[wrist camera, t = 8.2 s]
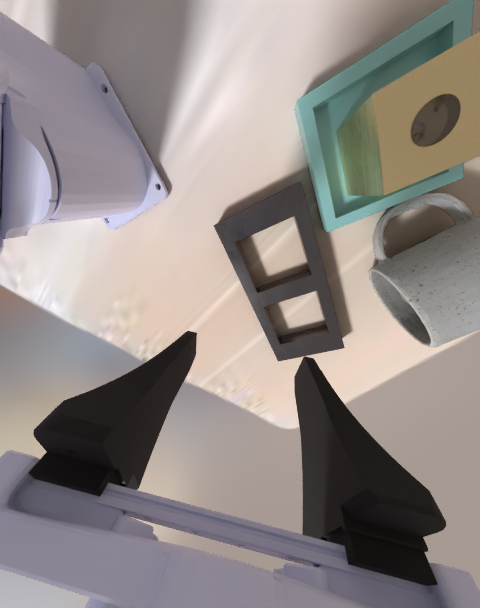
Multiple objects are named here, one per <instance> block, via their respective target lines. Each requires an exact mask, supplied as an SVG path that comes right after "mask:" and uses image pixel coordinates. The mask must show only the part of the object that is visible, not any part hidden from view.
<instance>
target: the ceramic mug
mask: <svg viewBox="0 0 480 608" xmlns="http://www.w3.org/2000/svg"><path fill="white" fill-rule="evenodd" d="M423 204H430V205H435V206H438V207H440V208H441V209H442V210H444V211H446V212H447V214H448V215H450V216H451V218H452V219H453V220H454V222H455V226H453V227H451V228H448V229H446V230H444V231H442V232H440V233H438V234H437V235H435V236H433V237H431V238H429V239H428V240H426V241H424V242H422V243H419V244H417V245H415V246H413V247H411V248H409V249H407V250H404V251H403V252H401V253H399V254H396V255H394V256H392V257H391V258H388V257H387V256H386V254H385V249H384V244H383V234H384V231H385V228H386V226H387V224H388V220H389V219H391V218H393V217H395V216H397V215H399V214H401V213H403V212H405V211H408V210H410V209H417V208H419V207H421V206H422V205H423ZM373 249H374V253H375V256H376V259H377V261H378V264H377V265H375V266H373V267H372V268H371V269H370V270H369V279H370V281H371V283H372V286H373V288H374V290H375V292H376V294H377V295H378V297H379V298H380V300H381V302H382V303H383V304H384V306H385V307H386V309H387V310H388V311H389V313H390V314H391V315H392V317H393V318H394V319H395V320H396V321H397V322H398V323H399V324H400V325H401V326H402V327H403V328H404V330H406V331H407V332H408V333H409V334H410V335H411V336H412V337H413V338H415V339H416V340H417V341H419V342H420V343H421V344H423V345H425V346H428V347H438V346H440V345H442V344H445V343H447V342H450V341H452V340H455V339H457V338H460V337H462V336H465V335H467V334H470V333H472V332H475V331H478V330H480V217H474V216H473V213H472V211H471V210H470V209H469V207H468V206H467V205H466V204H465V203H464V202H463V201H462V200H460V199H458V198H456V197H455V196H453V195H450V194H447V193H425V194H422V195H420V196H417V197H415V198H412V199H410V200H407V201H405V202H402V203H400V204H397V205H396V206H394V207H393V208H391V209H390V210H389V211H388V212H387V213H386V214H385V215H384V216H383V217H382V218H381V219H380V220H379V222H378V223H377V225H376V228H375V230H374V233H373Z"/></svg>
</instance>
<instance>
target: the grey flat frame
mask: <svg viewBox="0 0 480 608" xmlns="http://www.w3.org/2000/svg"><path fill="white" fill-rule="evenodd" d="M293 216H294V220H295V223H296V226H297V230H298V233H299V237H300V240H301V243H302V247H303V250H304V253H305V257H306V260H307V264H308V267H309V270H307V271H304V272H301V273H298V274H295V275H292V276H290V277H287V278H284V279H281V280H278V281H275V282H272V283H269V284H266V285H264V286H261V287H258V286H257V283H256V281H255V279H254V277H253V274H252V272H251V270H250V267H249V265H248V263H247V261H246V258H245V256H244V254H243V251H242V249H241V247H240V245H239V242H238V241H239V240H242V239H244V238H246V237H248V236H250V235H253V234H255V233H257V232H259V231H262V230H264V229H266V228H268V227H270V226H273V225H275V224H277V223H279V222H282V221H284V220H286V219H288V218H290V217H293ZM214 227H215V229H216V231H217V233H218V236H219V238H220V240H221V242H222V244H223V246H224V248H225V250H226V252H227V254H228V257H229V259H230V261H231V263H232V265H233V267H234V269H235V271H236V273H237V276H238V278H239V280H240V282H241V284H242V286H243V288H244V290H245V292H246V294H247V297H248V299H249V301H250V303H251V305H252V307H253V309H254V311H255V313H256V315H257V318H258V320H259V322H260V324H261V326H262V328H263V330H264V332H265V334H266V336H267V339H268V341H269V343H270V345H271V347H272V349H273V351H274V353H275V355H276V357H277V360H278V361H282V360H287V359H292V358H297V357H302V356H307V355H312V354H317V353H322V352H327V351H332V350H337V349H342V348H344V344H343V340H342V337H341V333H340V329H339V325H338V321H337V317H336V314H335V310H334V306H333V302H332V298H331V294H330V291H329V287H328V283H327V279H326V275H325V271H324V268H323V264H322V260H321V256H320V252H319V248H318V245H317V241H316V237H315V233H314V229H313V225H312V222H311V218H310V214H309V210H308V206H307V202H306V199H305V195H304V191H303V187H302V183H301V182H299V183H297V184H295V185H293V186H291V187H289V188H287V189H285V190H283V191H281V192H279V193H277V194H275V195H273V196H271V197H269V198H267V199H265V200H263V201H261V202H259V203H257V204H255V205H253V206H251V207H249V208H247V209H245V210H243V211H241V212H239V213H237V214H235V215H233V216H231V217H229V218H227V219H225V220H223V221H221V222H220V223H218V224H216V225H214ZM313 291H316V294H317V297H318V301H319V304H320V307H321V311H322V314H323V318H324V321H325V324H326V325H325V326H321V327H317V328H313V329H309V330H305V331H301V332H297V333H293V334H289V335H285V336H281V337H280V336H279V334H278V331H277V329H276V327H275V325H274V322H273V320H272V318H271V315H270V313H269V311H268V309H267V306H268V305H271V304H275V303H278V302H281V301H284V300H287V299H291V298H294V297H297V296H300V295H304V294H307V293H310V292H313Z"/></svg>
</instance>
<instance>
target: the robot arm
mask: <svg viewBox="0 0 480 608" xmlns="http://www.w3.org/2000/svg"><path fill="white" fill-rule="evenodd" d="M106 87H107V89H108V92H107V93H105V88H106ZM158 184H160V186H161V189H160V190H159V189H158ZM167 197H168V191H167V189H166V187H165V185H164V183H163V181H162V179H161V177H160V176H159V174H158V172H157V170H156V168H155V166H154V164H153V162H152V161H151V159H150V157H149V155H148V153H147V151H146V149H145V147H144V146H143V144H142V142H141V140H140V138H139V136H138V134H137V133H136V131H135V129H134V127H133V125H132V123H131V121H130V119H129V118H128V116H127V114H126V112H125V110H124V108H123V106H122V105H121V103H120V101H119V99H118V97H117V95H116V93H115V91H114V90H113V88H112V86H111V84H110V82H109V80H108V78H107V77H106V75H105V73H104V71H103V69H102V68H101V67H100V66H99V65H98V64H96V63H95V62H92V63H90V64H89V65H88V66H87V68H86V69H84V68H83V67H81V66H80V65H78V64H77V63H76V62H74V61H73V60H71V59H70V58H68V57H67V56H65V55H64V54H62V53H61V52H59V51H58V50H56V49H55V48H53V47H52V46H50V45H49V44H48V43H46V42H45V41H43V40H42V39H40V38H39V37H37V36H36V35H34V34H33V33H31V32H30V31H28V30H27V29H25V28H24V27H22V26H21V25H20V24H18V23H17V22H15V21H14V20H12V19H11V18H9V17H8V16H6V15H5V14H3V13H2V12H0V254H1V253H2V251H3V247H4V242H3V239H8V238H14V237H20V236H26V235H27V233H28V230H29V229H30V228H31V227H32V226H35V225H41V224H49V223H57V222H65V221H73V220H81V219H89V218H98V217H101V219H102V220H103V221H104V223H105V224H106V226H107V227H108V228H109V229H110V230H115V229H117V228H119V227H120V226H122V225H124V224H125V223H127V222H128V221H130V220H132V219H133V218H135V217H137V216H138V215H140V214H141V213H143V212H145V211H146V210H148V209H149V208H151V207H153V206H154V205H156V204H157V203H159V202H161V201H162V200H164V199H166V198H167ZM107 218H108V219H109V221H108V220H107ZM196 337H197V333H195V332H191V331H187V332H185V333H184V334H183V335H182V336H181V337H180V338H178V339H177V340H176V341H175V342H174V343H172V344H171V345H170V346H168V347H167V348H166V349H165V350H163V351H162V352H160V353H159V354H158V355H156V356H155V357H153V358H152V359H150V360H149V361H147V362H146V363H144V364H143V365H141V366H139V367H138V368H136V369H134V370H132V371H131V372H129V373H127V374H125V375H123V376H121V377H120V378H117V379H115V380H113V381H111V382H109V383H107V384H105V385H102V386H100V387H98V388H96V389H93V390H91V391H89V392H86V393H83V394H80V395H78V396H75V397H73V398H70V399H67V400H64V401H63V402H62V403H61V404H60V405H59V406H58V407H57V408H55V409H54V411H52V412H51V413H50V415H48V416H47V417H46V418H45V419H44V420H43V422H41V423H40V424H39V425H38V426H37V428H35V429H34V437H35V438H36V440H37V441H38V442H39V443H40V444H41V445H42V446H43V448H44V449H45V450H46V451H47V453H46V454H45V455H44V456H43V457H42V458H41V459H39V458H37V457H34V456H32V455H28V454H24V453H20V452H17V451H13V450H9V451H7V452H6V453H5V454H4V455H3V456H1V457H0V569H3V570H6V571H10V572H13V573H16V574H19V575H22V576H25V577H28V578H31V579H34V580H38V581H41V582H44V583H47V584H50V585H53V586H56V587H59V588H63V589H66V590H69V591H72V592H75V593H79V594H81V595H85V596H88V597H90V598H89V601H88V603H87V605H86V607H85V608H480V591H479V589H478V587H477V585H476V583H475V581H474V580H473V577H472V576H471V574H470V573H468V572H467V571H463V570H460V569H456V568H452V567H449V566H445V565H441V564H435V563H429V562H428V560H427V558H426V555H425V553H424V552H427V551H428V548H427V545H426V543H425V541H424V539H423V537H424V536H427V535H430V534H434V533H437V532H439V531H442V530H443V529H444V528H445V527H446V521H445V519H444V517H443V516H442V513H441V512H440V510H439V508H438V506H437V504H436V502H435V501H434V498H433V497H432V495H431V493H430V491H429V490H428V489H427V488H425V487H424V486H423V485H422V484H421V483H420V482H419V481H417V480H416V479H415V478H414V477H413V476H412V475H411V474H410V473H409V472H407V471H406V470H405V469H404V468H403V467H402V466H401V465H400V464H399V463H397V461H396V460H395V459H393V458H392V457H391V456H390V455H389V454H388V453H387V452H386V451H385V450H384V449H383V448H382V447H381V446H380V445H379V444H378V443H377V442H376V441H375V440H374V439H373V437H371V435H370V434H369V433H368V432H367V431H366V430H365V429H364V428H363V427H362V425H361V424H360V423H359V422H358V421H357V420H356V418H355V417H354V416H353V415H352V414H351V412H350V411H349V410H348V409H347V407H346V406H345V405H344V403H343V402H342V401H341V399H340V398H339V397H338V395H337V394H336V392H335V391H334V390H333V388H332V387H331V385H330V384H329V382H328V381H327V379H326V378H325V376H324V374H323V373H322V371H321V370H320V368H319V366H318V365H317V363H316V362H315V360H314V359H313V358H309V357H304V358H303V360H302V362H301V364H300V366H299V368H298V371H297V373H296V375H295V397H296V404H297V411H298V418H299V425H300V432H301V445H302V469H303V535H302V534H298V533H294V532H290V531H287V530H283V529H279V528H275V527H272V526H268V525H264V524H261V523H257V522H253V521H249V520H246V519H242V518H238V517H234V516H231V515H226V514H223V513H219V512H216V511H212V510H208V509H205V508H201V507H197V506H194V505H190V504H186V503H182V502H179V501H175V500H171V499H167V498H163V497H160V496H156V495H152V494H149V493H145V492H141V491H137V489H138V488H139V486H140V483H141V480H142V478H143V475H144V472H145V469H146V467H147V464H148V461H149V459H150V456H151V453H152V451H153V448H154V446H155V443H156V441H157V438H158V436H159V433H160V431H161V428H162V425H163V423H164V421H165V418H166V416H167V414H168V411H169V409H170V407H171V404H172V402H173V400H174V398H175V396H176V394H177V393H178V391H179V389H180V387H181V385H182V383H183V381H184V380H185V378H186V376H187V374H188V372H189V370H190V368H191V366H192V363H193V361H194V358H195V355H196ZM125 515H126V516H125ZM128 516H129V517H128ZM131 517H133V518H137V519H140V520H144V521H148V522H151V523H155V524H158V525H162V526H166V527H169V528H173V529H176V530H180V531H184V532H187V533H191V534H194V535H198V536H202V537H205V538H209V539H213V540H216V541H220V542H223V543H227V544H231V545H235V546H238V547H242V548H245V549H249V550H252V551H256V552H260V553H263V554H267V555H271V556H274V557H278V558H281V559H285V560H289V561H293V562H296V563H299V564H303V565H299V564H291V563H285V565H284V568H282V569H274V571H273V572H271V571H268V570H266V569H263V568H260V567H256V566H254V565H250V564H247V563H244V562H241V561H238V560H234V559H231V558H227V557H223V556H220V555H217V554H213V553H209V552H205V551H200V550H197V549H193V548H188V547H184V546H180V545H175V544H171V543H166V542H161V541H158V537H157V536H156V535H154V534H153V527H152V526H150V525H147V524H145V523H143V522H140V521H138V520H136V519H133V518H131ZM306 565H307V566H306Z"/></svg>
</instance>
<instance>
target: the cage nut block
mask: <svg viewBox="0 0 480 608" xmlns="http://www.w3.org/2000/svg"><path fill="white" fill-rule="evenodd" d="M336 134H337V140H338V145H339V151H340V157H341V163H342V168H343V174H344V180H345V186H346V191H347V196H385V195H387V194H389V193H392V192H394V191H396V190H399V189H401V188H404V187H406V186H408V185H411V184H413V183H416V182H418V181H420V180H423V179H425V178H427V177H430V176H432V175H435V174H437V173H439V172H442V171H444V170H446V169H449V168H451V167H454V166H456V165H458V164H461V163H463V162H466V161H468V160H470V159H473V158H475V157H477V156H480V31H479V32H477V33H476V34H474V35H472V36H470V37H469V38H467V39H465V40H464V41H462V42H460V43H458V44H457V45H455V46H453V47H452V48H450V49H448V50H446V51H445V52H443V53H441V54H440V55H438V56H436V57H434V58H433V59H431V60H429V61H428V62H426V63H424V64H422V65H421V66H419V67H417V68H416V69H414V70H412V71H411V72H409V73H407V74H405V75H404V76H402V77H400V78H399V79H397V80H395V81H393V82H392V83H390V84H388V85H387V86H385V87H383V88H381V89H380V90H378V91H376V92H375V93H373V94H372V95H371V96H370V97H369V98H368V100H367V101H366V102H365V103H364V104H363V105H362V106H361V107H360V108H359V109H358V110H357V111H356V112H355V113H354V114H353V115H352V116H351V117H350V118H349V119H348V120H347V121H346V122H345V123H344V124H343V125H342V126H341V127H340V128H339V129H338V130H337V131H336Z"/></svg>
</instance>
